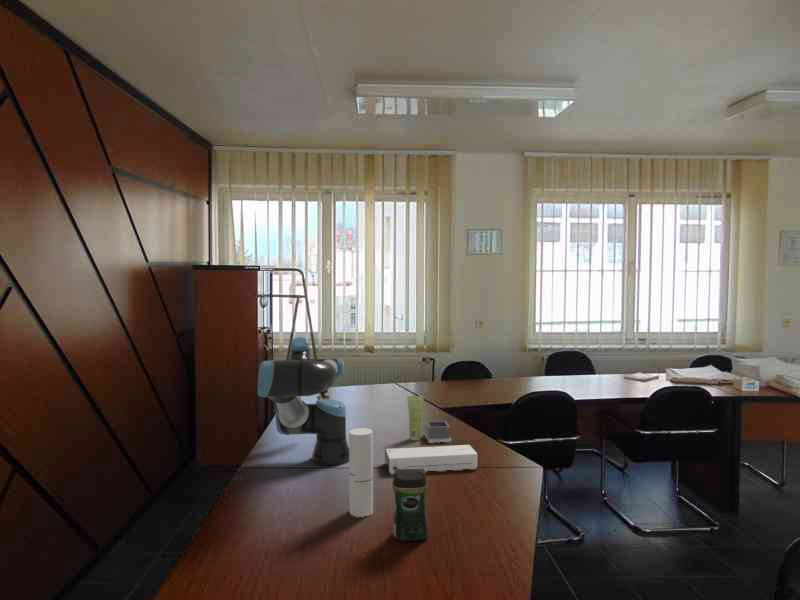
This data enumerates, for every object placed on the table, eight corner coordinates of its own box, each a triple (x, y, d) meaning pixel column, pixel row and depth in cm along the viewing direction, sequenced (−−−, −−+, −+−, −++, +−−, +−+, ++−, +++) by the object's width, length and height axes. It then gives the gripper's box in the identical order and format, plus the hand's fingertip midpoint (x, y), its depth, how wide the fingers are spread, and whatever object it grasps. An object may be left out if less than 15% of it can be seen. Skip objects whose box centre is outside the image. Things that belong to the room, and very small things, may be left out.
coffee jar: (426, 528, 145) (426, 464, 144) (428, 542, 137) (428, 475, 136) (393, 528, 145) (392, 464, 144) (392, 542, 137) (392, 475, 136)
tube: (415, 436, 231) (415, 394, 230) (424, 438, 228) (423, 395, 227) (407, 439, 227) (407, 396, 226) (415, 441, 223) (415, 398, 223)
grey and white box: (451, 442, 223) (451, 427, 223) (428, 443, 222) (428, 428, 221) (445, 434, 235) (445, 420, 234) (424, 434, 234) (424, 420, 233)
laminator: (469, 459, 202) (469, 444, 202) (478, 471, 190) (479, 454, 190) (385, 464, 197) (385, 448, 197) (389, 476, 185) (388, 459, 185)
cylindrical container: (360, 504, 160) (360, 426, 160) (377, 511, 156) (377, 431, 155) (344, 512, 155) (344, 432, 154) (361, 519, 150) (361, 436, 150)
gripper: (332, 362, 221) (334, 395, 233) (274, 362, 219) (279, 396, 232) (331, 374, 215) (333, 408, 227) (271, 374, 213) (277, 408, 226)
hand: (306, 402), depth 230 cm, fingers open, 13 cm apart
